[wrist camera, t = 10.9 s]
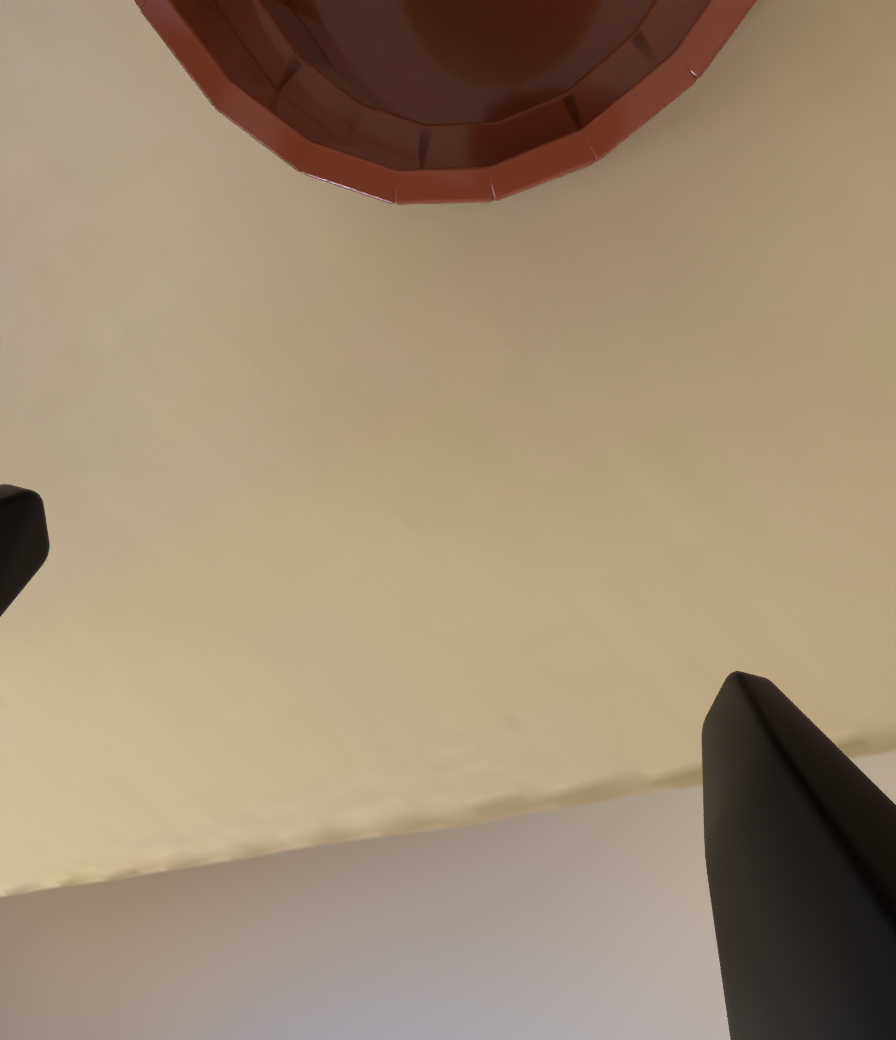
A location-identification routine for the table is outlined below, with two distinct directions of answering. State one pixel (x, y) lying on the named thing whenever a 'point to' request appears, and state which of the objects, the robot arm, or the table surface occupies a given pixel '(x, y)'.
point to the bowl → (442, 83)
